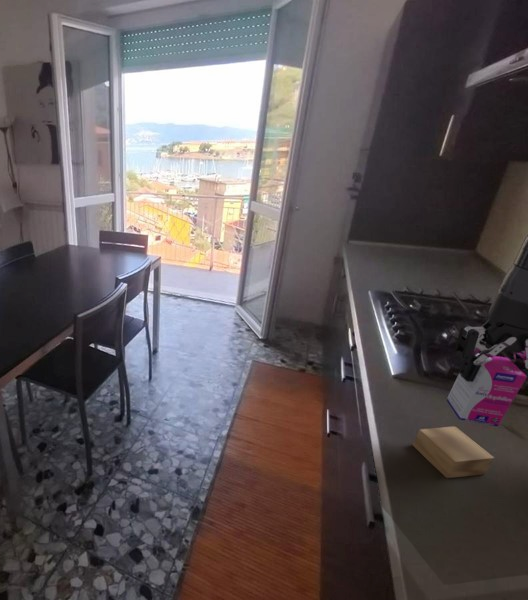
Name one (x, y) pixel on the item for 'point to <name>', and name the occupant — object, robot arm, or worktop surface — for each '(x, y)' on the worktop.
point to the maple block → (452, 452)
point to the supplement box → (487, 391)
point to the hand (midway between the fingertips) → (487, 380)
